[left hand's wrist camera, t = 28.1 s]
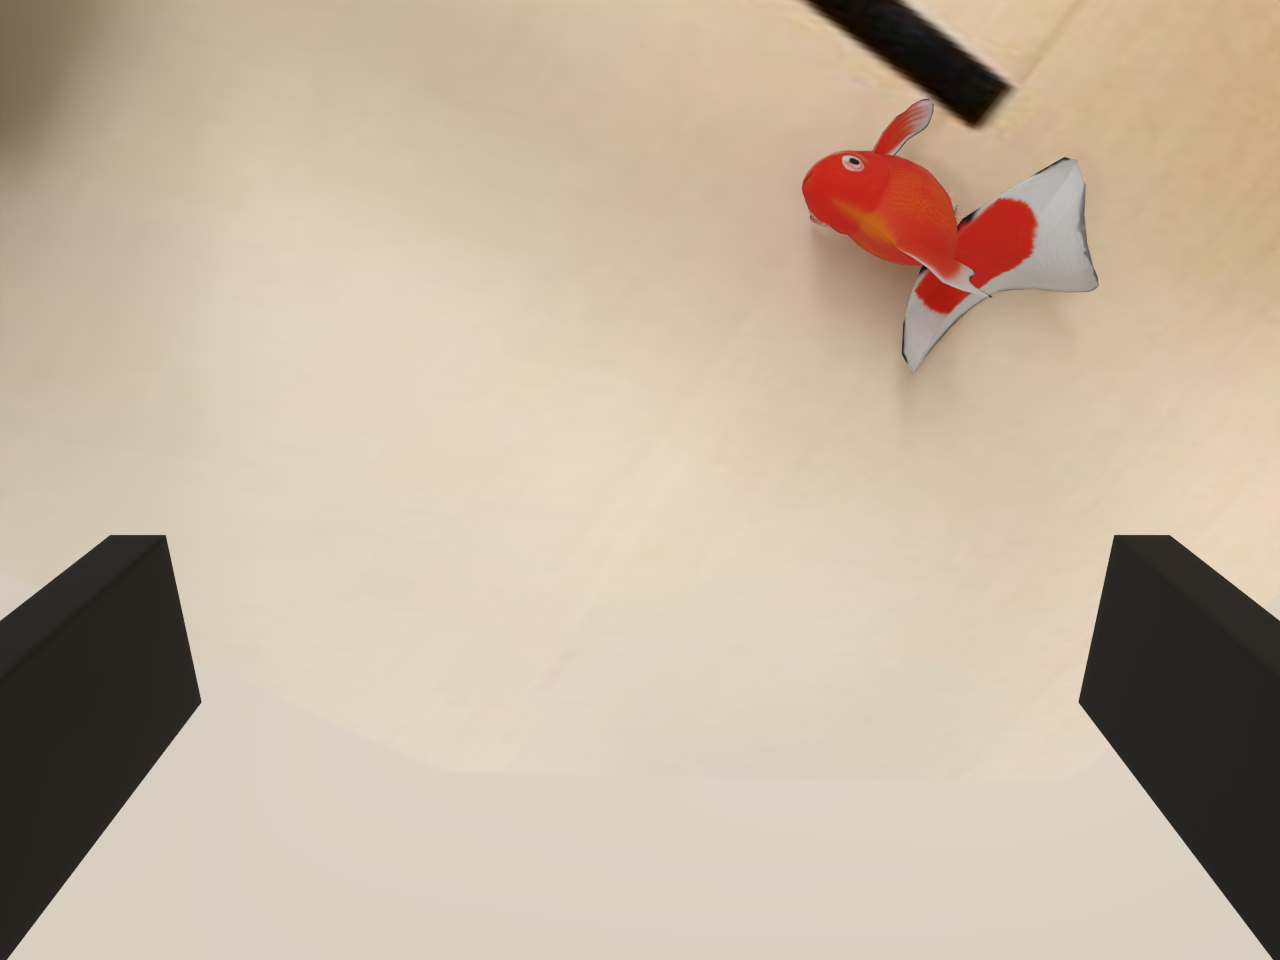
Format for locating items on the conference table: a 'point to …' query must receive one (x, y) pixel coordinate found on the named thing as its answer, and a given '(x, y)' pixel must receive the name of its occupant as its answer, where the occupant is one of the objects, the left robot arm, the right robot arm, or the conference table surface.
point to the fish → (952, 229)
